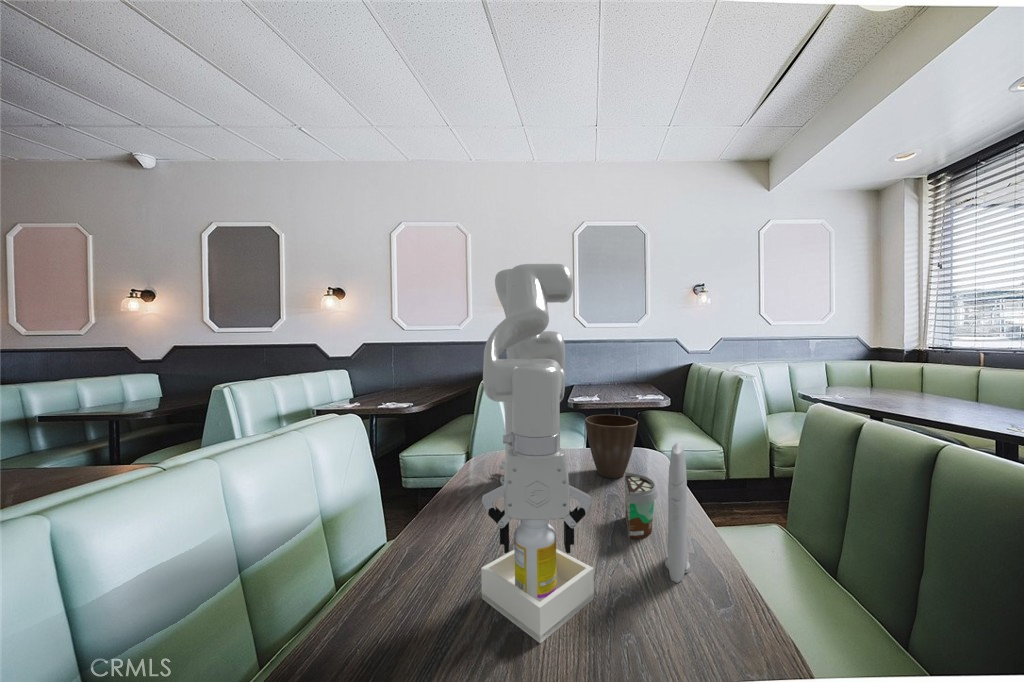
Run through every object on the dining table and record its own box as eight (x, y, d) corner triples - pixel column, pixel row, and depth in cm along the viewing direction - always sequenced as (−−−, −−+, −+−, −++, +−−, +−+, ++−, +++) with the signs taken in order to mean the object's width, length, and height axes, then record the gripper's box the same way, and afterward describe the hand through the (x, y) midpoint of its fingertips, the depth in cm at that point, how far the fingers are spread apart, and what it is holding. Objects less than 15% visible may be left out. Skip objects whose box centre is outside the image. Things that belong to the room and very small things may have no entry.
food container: (662, 545, 77) (662, 495, 77) (630, 542, 78) (630, 493, 78) (653, 516, 89) (653, 473, 89) (625, 514, 90) (624, 471, 90)
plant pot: (620, 462, 125) (620, 413, 124) (648, 480, 110) (648, 423, 110) (577, 467, 121) (576, 416, 120) (600, 486, 106) (600, 428, 106)
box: (481, 598, 62) (481, 567, 62) (535, 564, 71) (535, 537, 71) (540, 643, 53) (539, 607, 53) (593, 598, 62) (593, 568, 62)
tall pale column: (668, 549, 76) (668, 436, 75) (691, 554, 74) (691, 439, 73) (661, 580, 66) (661, 452, 66) (688, 587, 64) (688, 455, 64)
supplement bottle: (560, 582, 65) (559, 505, 64) (552, 609, 58) (551, 525, 58) (521, 575, 67) (520, 500, 66) (509, 600, 60) (508, 518, 60)
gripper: (478, 450, 58) (480, 562, 59) (595, 449, 58) (595, 562, 58) (483, 435, 66) (484, 535, 66) (587, 435, 65) (587, 535, 66)
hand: (536, 548), depth 62 cm, fingers open, 9 cm apart
